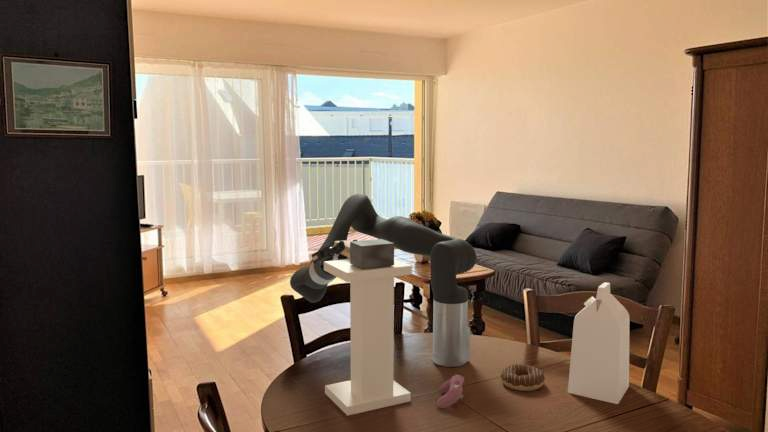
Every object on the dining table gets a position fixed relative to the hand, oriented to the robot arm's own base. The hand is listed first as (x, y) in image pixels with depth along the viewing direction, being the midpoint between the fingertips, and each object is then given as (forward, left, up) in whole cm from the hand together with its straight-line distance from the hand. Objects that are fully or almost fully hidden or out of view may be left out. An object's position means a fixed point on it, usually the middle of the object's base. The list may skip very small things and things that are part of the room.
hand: (349, 243), depth 147 cm
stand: (0, +10, -35) cm, 36 cm away
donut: (-38, +20, -35) cm, 55 cm away
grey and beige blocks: (0, +5, -3) cm, 6 cm away
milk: (-52, +31, -35) cm, 70 cm away
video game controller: (-17, +20, -35) cm, 44 cm away
